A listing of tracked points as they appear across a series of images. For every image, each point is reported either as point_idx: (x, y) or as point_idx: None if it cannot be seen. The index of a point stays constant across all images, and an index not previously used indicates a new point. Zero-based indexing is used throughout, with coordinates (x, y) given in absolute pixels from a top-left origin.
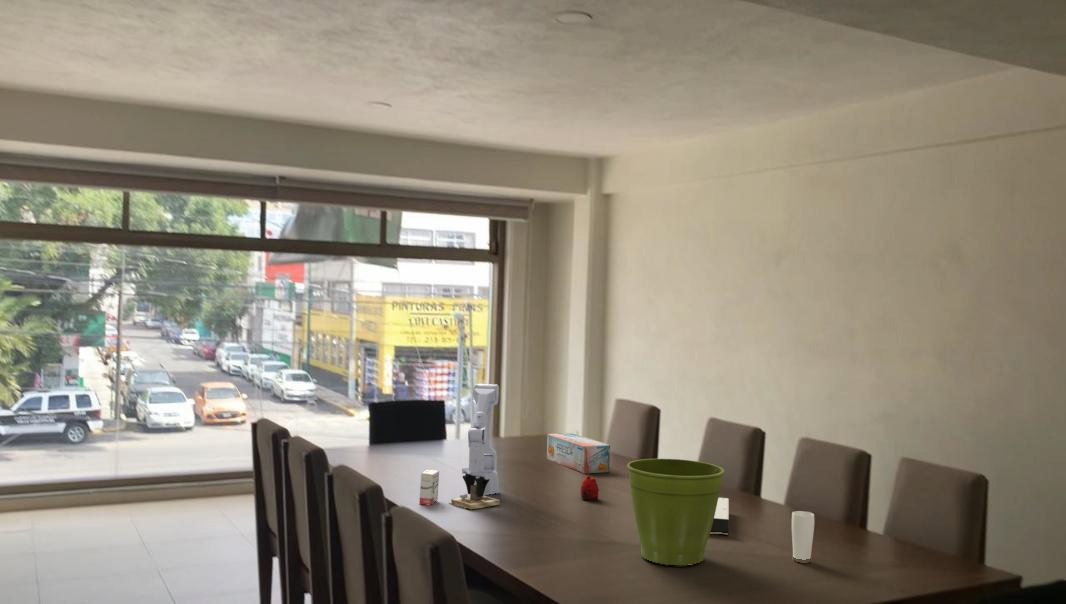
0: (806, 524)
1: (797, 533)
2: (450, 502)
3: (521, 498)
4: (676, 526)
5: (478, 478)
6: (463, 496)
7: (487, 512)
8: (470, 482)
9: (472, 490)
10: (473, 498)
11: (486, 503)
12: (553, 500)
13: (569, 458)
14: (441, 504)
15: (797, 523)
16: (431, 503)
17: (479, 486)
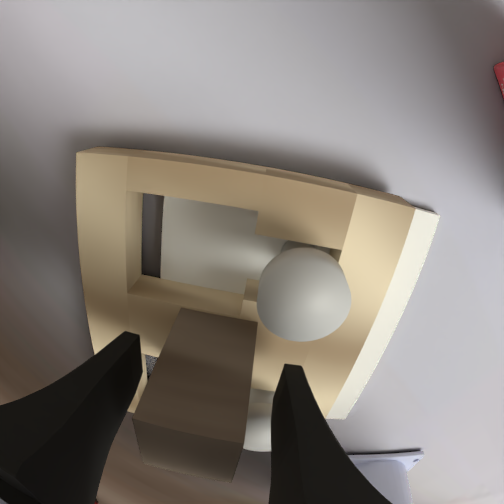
0: None
1: None
2: (424, 220)
3: (179, 481)
4: None
5: (22, 489)
6: (274, 264)
7: (17, 199)
8: (283, 485)
9: (210, 387)
10: (204, 324)
11: (90, 311)
12: (101, 478)
13: None
14: (459, 143)
15: None
16: (501, 73)
17: (36, 392)
